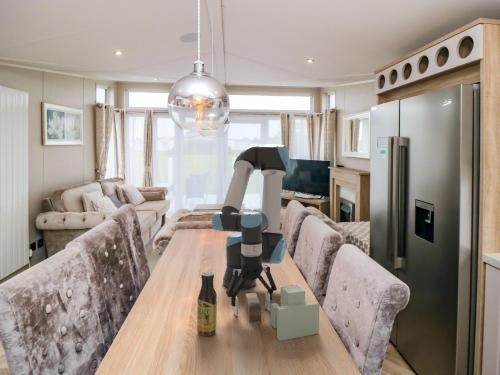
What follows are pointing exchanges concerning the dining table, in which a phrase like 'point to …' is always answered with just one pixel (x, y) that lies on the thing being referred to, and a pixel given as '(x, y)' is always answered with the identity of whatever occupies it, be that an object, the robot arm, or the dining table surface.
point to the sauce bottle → (207, 306)
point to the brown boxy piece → (253, 307)
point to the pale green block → (294, 314)
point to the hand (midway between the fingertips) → (251, 311)
